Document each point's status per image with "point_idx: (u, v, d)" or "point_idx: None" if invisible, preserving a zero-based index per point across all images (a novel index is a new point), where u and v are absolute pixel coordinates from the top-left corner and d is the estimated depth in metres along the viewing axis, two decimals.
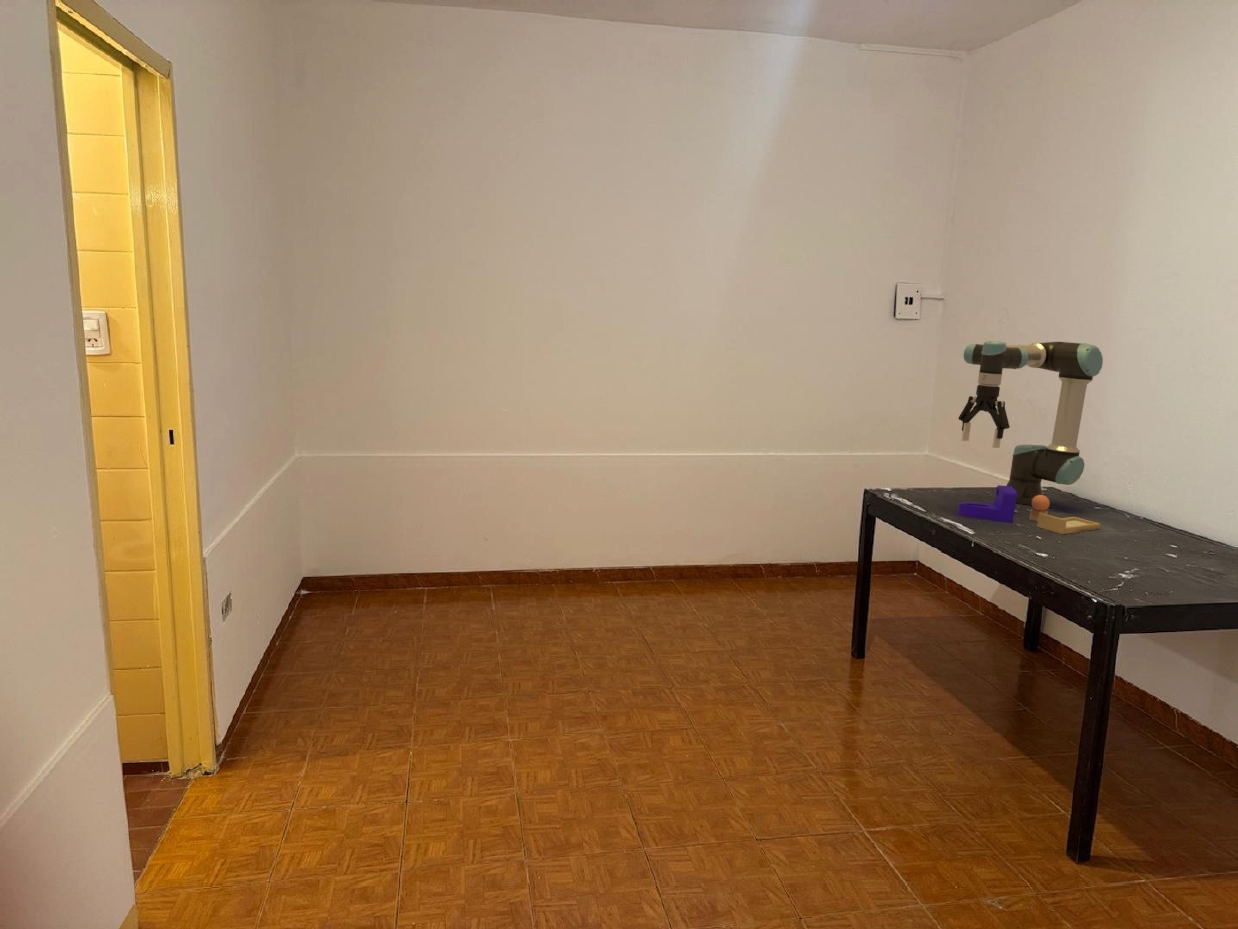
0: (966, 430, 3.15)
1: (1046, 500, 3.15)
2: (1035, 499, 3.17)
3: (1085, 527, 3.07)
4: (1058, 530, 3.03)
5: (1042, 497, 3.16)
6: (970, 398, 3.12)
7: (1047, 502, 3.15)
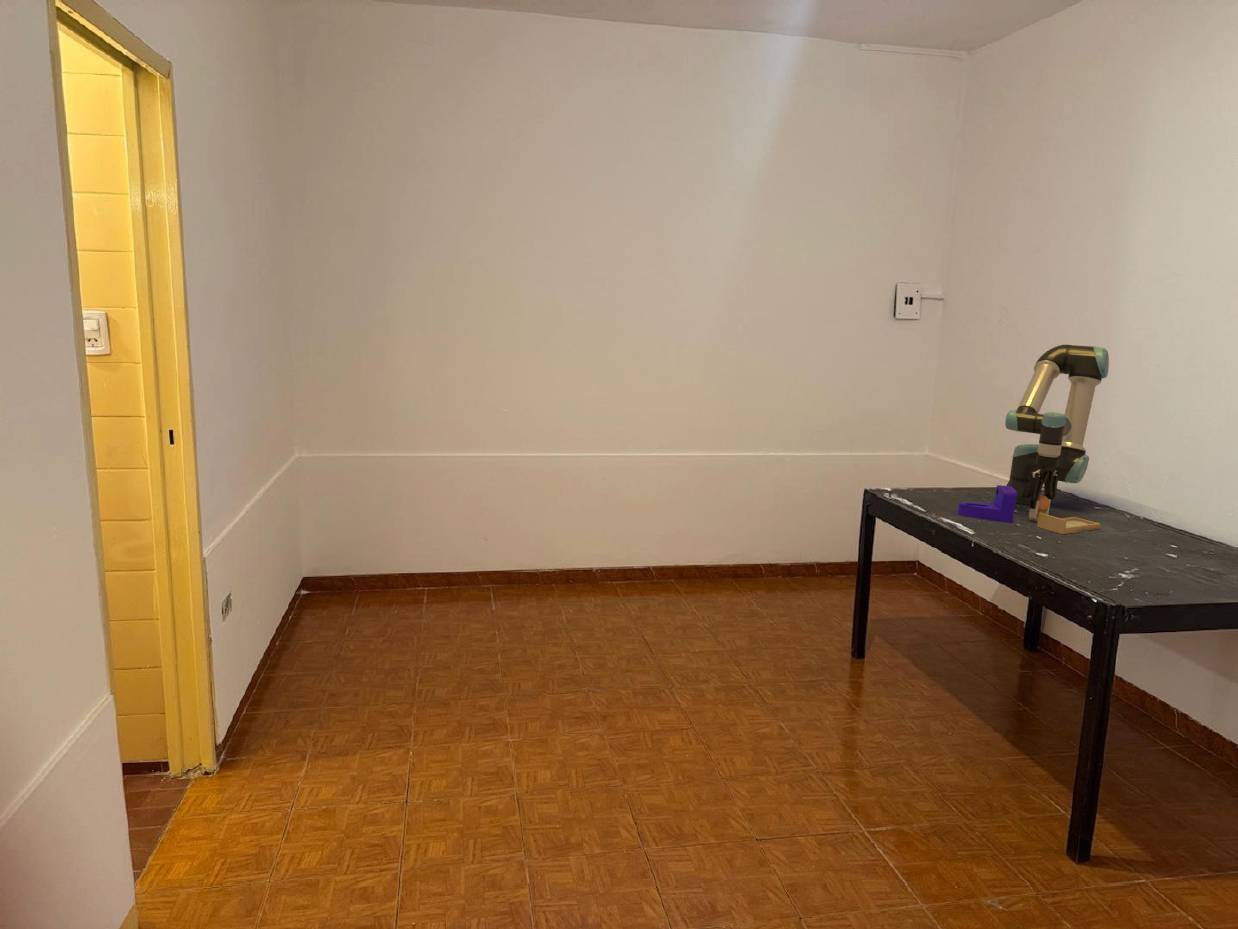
0: None
1: (1046, 500, 3.15)
2: None
3: (1085, 527, 3.07)
4: (1058, 530, 3.03)
5: (1042, 497, 3.16)
6: None
7: (1047, 502, 3.15)
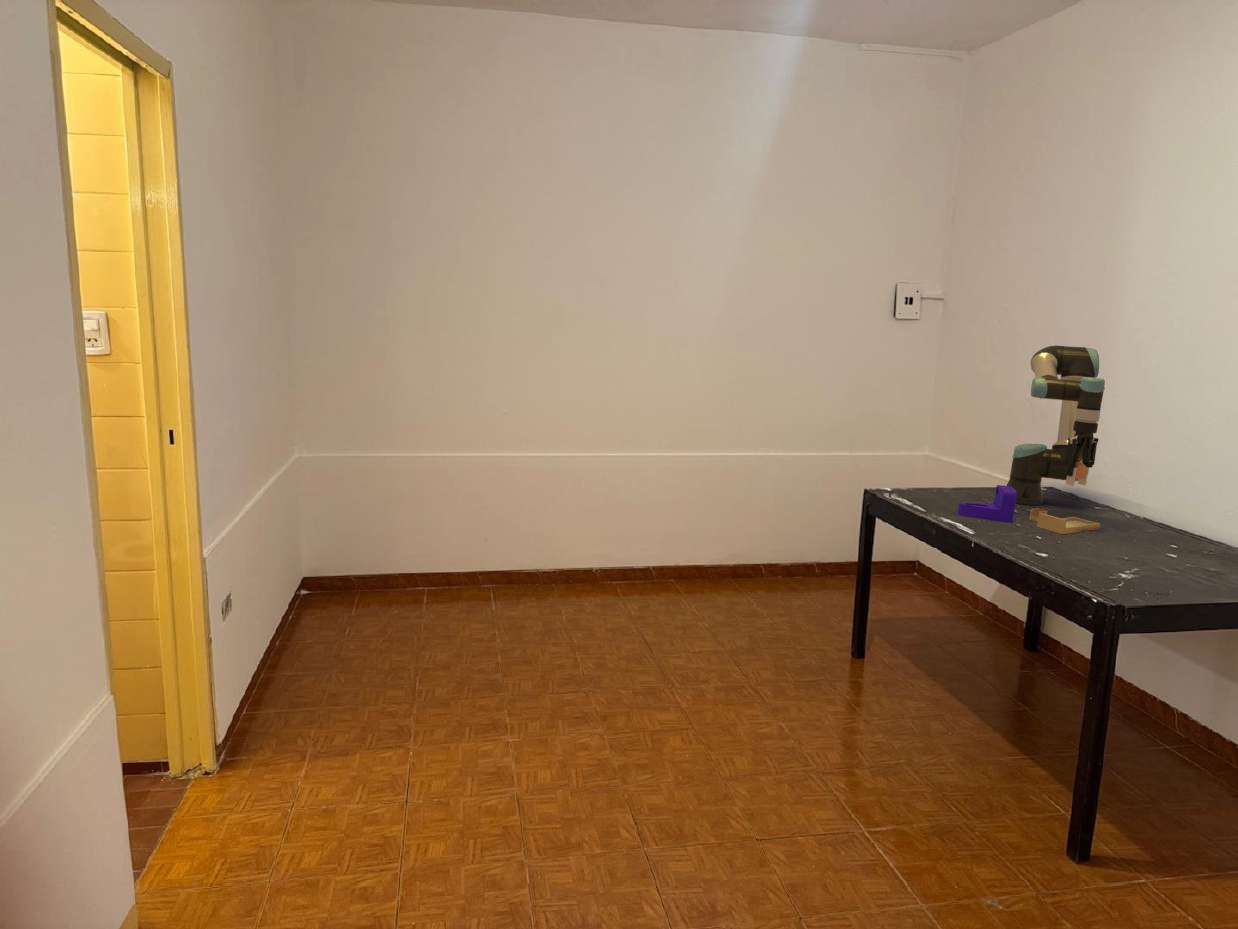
0: None
1: (1084, 467, 3.08)
2: None
3: (1085, 527, 3.07)
4: (1058, 530, 3.03)
5: (1080, 464, 3.08)
6: None
7: (1085, 469, 3.07)
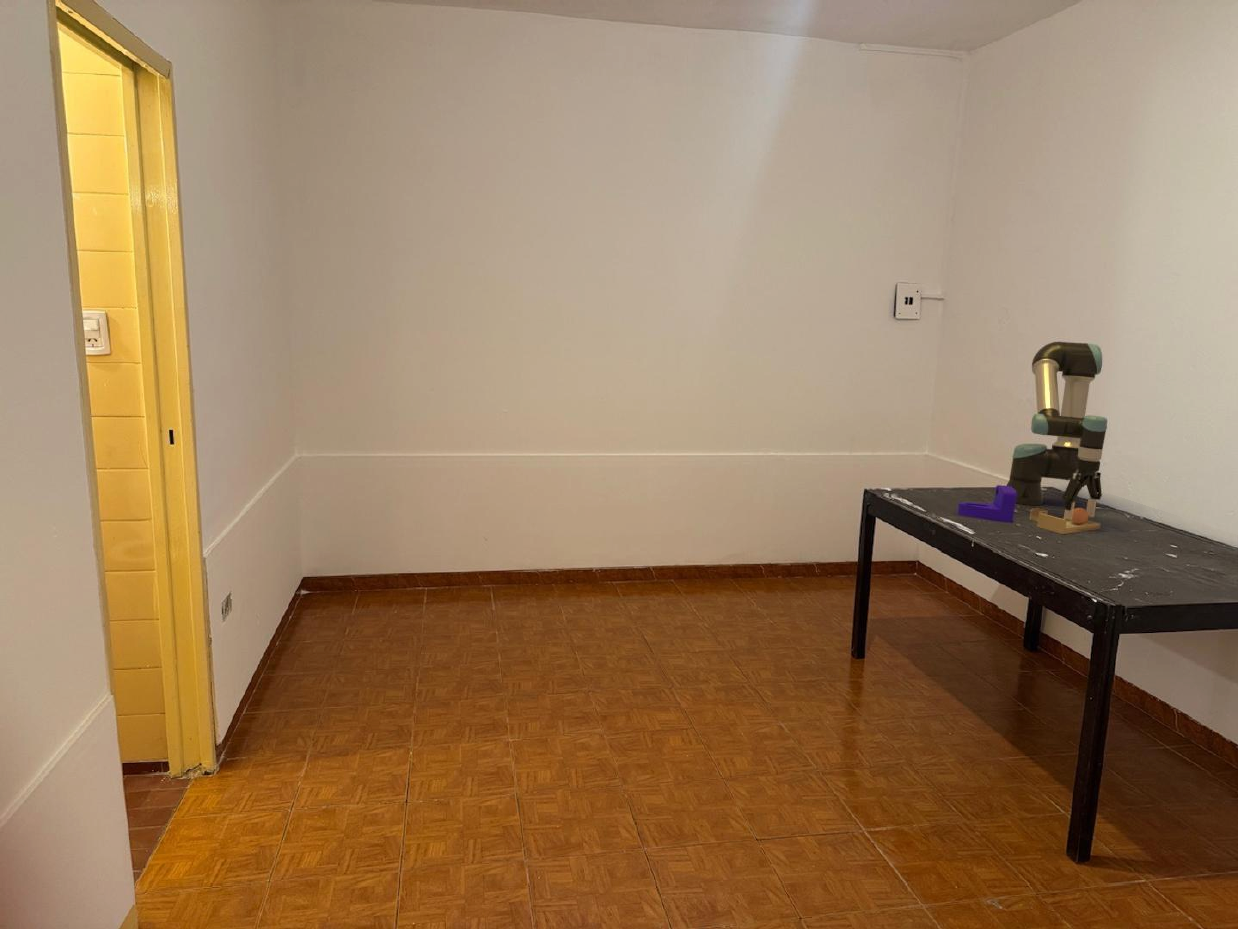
0: (1089, 505, 3.15)
1: (1085, 513, 3.10)
2: (1074, 512, 3.12)
3: (1085, 527, 3.07)
4: (1058, 530, 3.03)
5: (1081, 510, 3.11)
6: None
7: (1086, 515, 3.10)
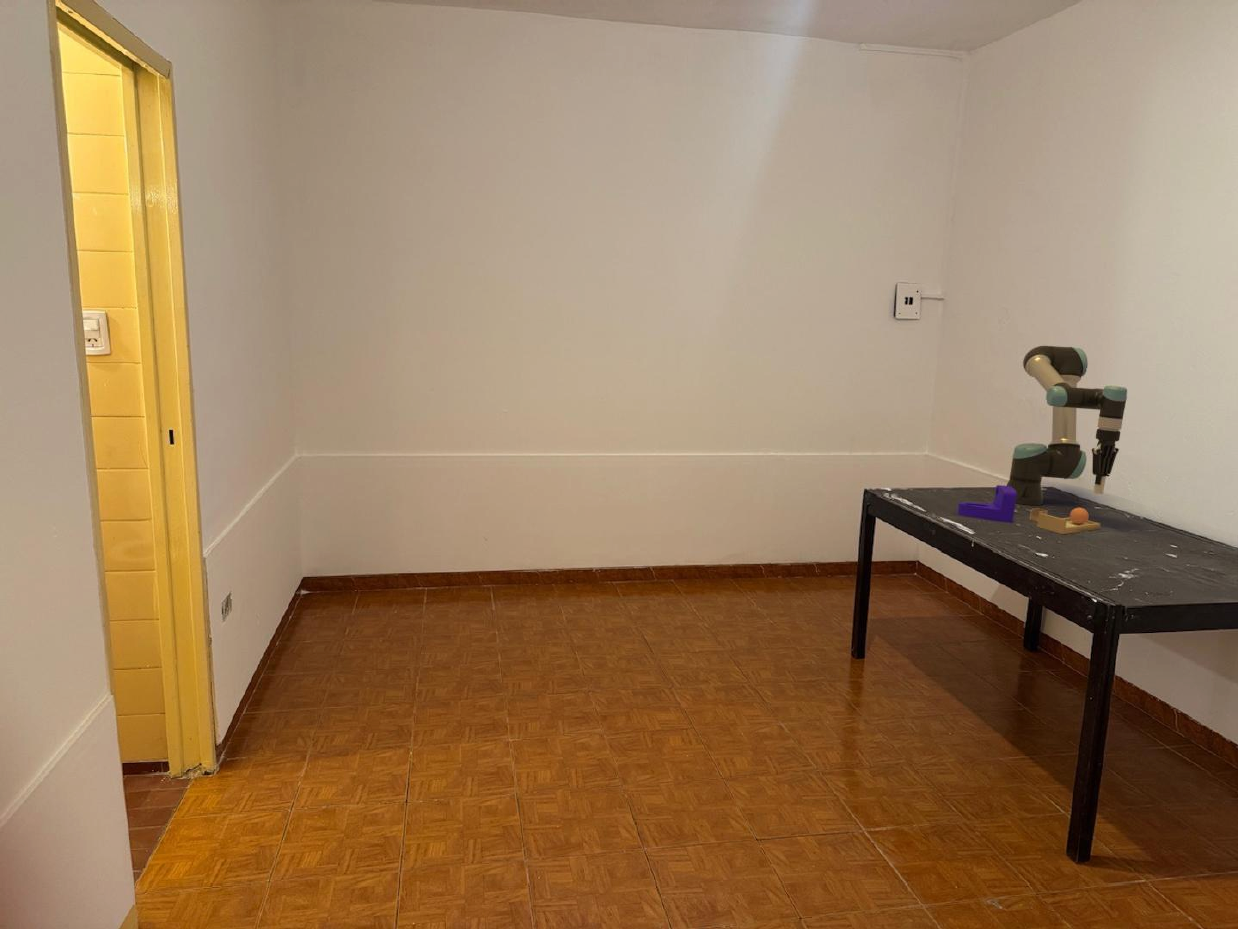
0: None
1: (1085, 513, 3.10)
2: (1074, 512, 3.12)
3: (1085, 527, 3.07)
4: (1058, 530, 3.03)
5: (1081, 510, 3.11)
6: None
7: (1086, 515, 3.10)
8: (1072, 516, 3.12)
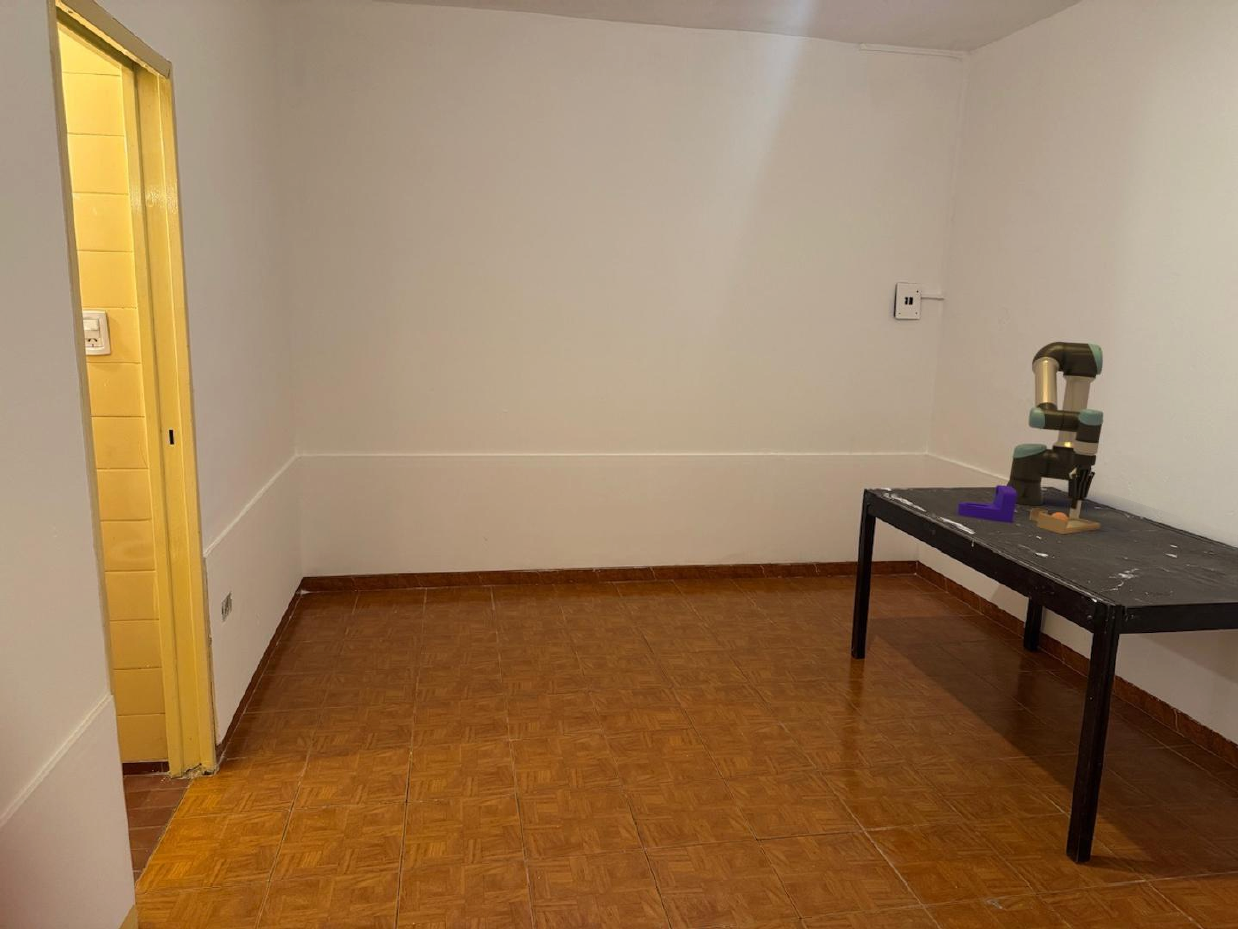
0: None
1: (1067, 523, 3.06)
2: None
3: (1085, 527, 3.07)
4: (1058, 530, 3.03)
5: None
6: None
7: (1067, 523, 3.05)
8: None
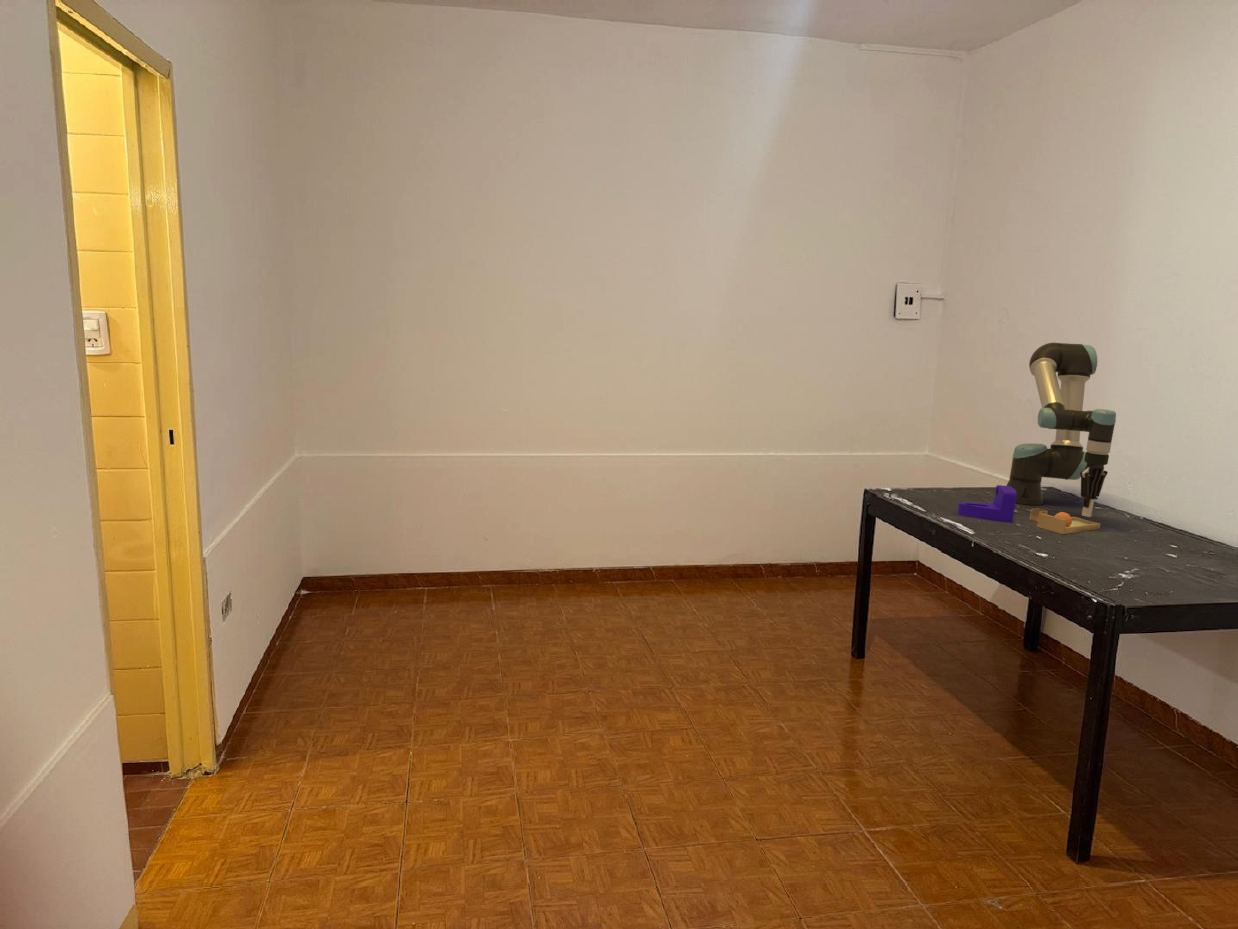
0: None
1: None
2: None
3: (1085, 527, 3.07)
4: (1058, 530, 3.03)
5: None
6: None
7: None
8: None
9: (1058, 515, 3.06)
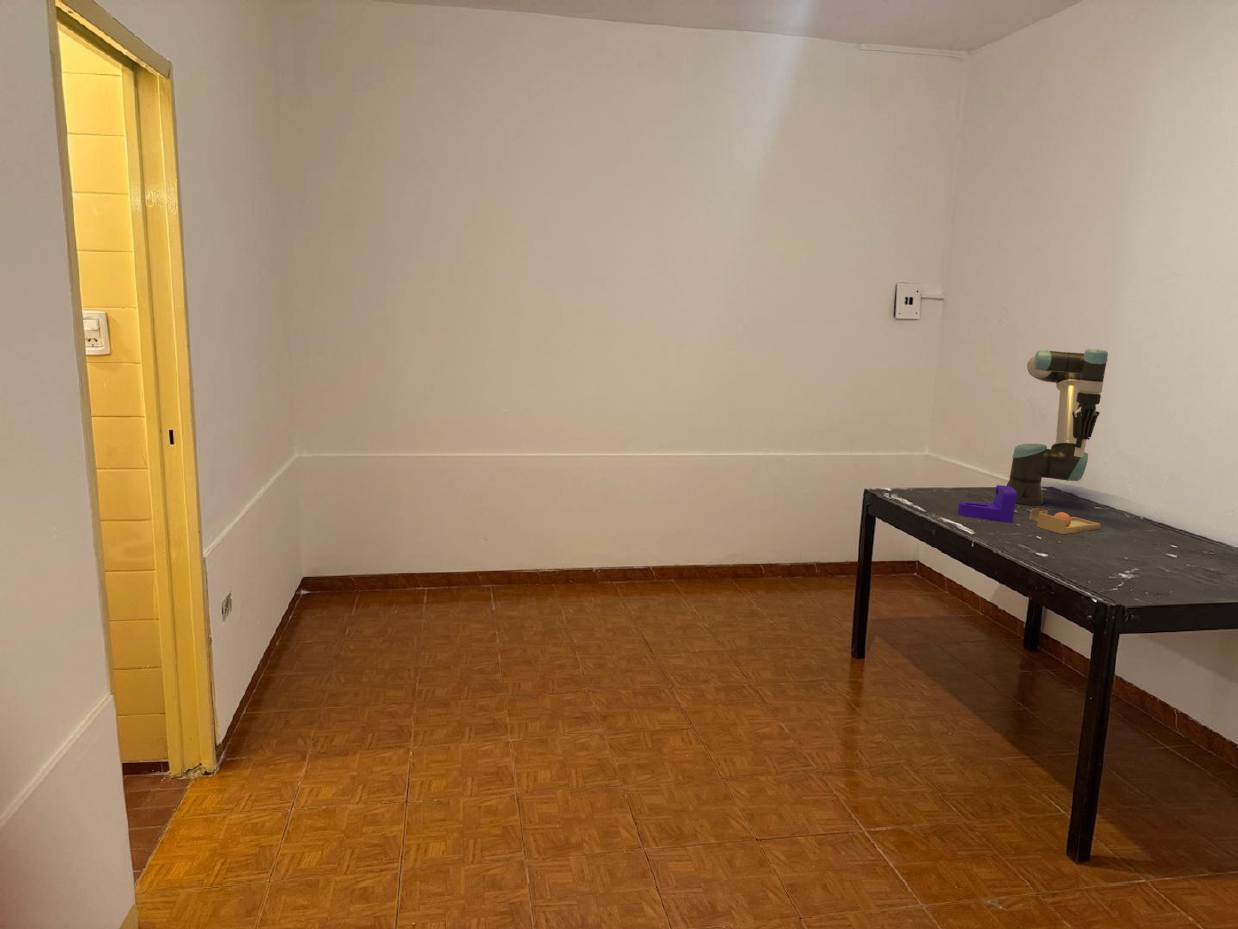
0: None
1: (1069, 525, 3.06)
2: None
3: (1085, 527, 3.07)
4: (1058, 530, 3.03)
5: None
6: None
7: (1069, 524, 3.05)
8: None
9: (1057, 516, 3.06)
